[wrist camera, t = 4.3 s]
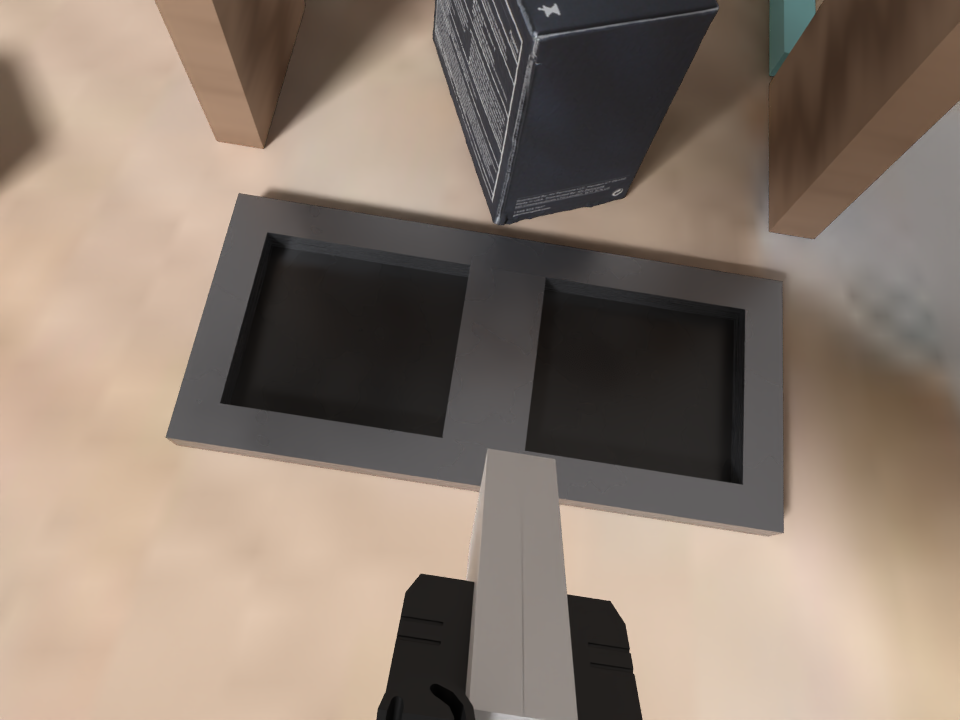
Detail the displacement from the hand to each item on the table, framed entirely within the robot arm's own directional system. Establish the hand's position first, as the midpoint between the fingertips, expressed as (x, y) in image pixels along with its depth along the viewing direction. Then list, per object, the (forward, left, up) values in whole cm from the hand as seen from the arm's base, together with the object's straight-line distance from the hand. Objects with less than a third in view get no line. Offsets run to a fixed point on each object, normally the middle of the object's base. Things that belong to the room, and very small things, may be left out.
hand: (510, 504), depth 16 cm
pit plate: (-7, 0, -10) cm, 12 cm away
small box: (-19, 0, -10) cm, 22 cm away
